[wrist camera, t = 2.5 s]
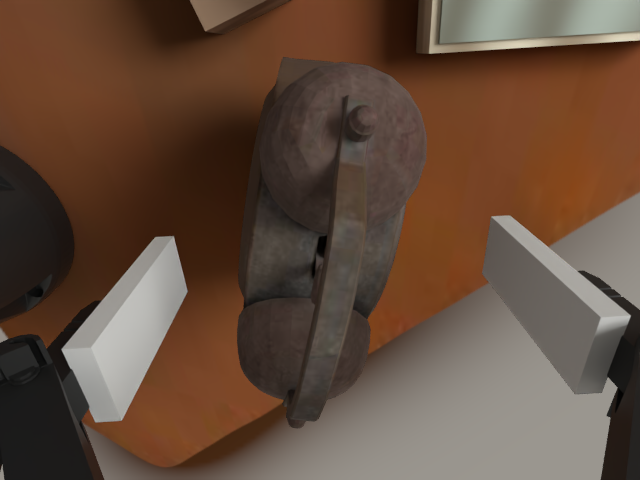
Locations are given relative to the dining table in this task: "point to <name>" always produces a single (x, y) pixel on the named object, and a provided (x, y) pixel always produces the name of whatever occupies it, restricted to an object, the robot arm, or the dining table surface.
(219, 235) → the dining table surface
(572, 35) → the picture frame
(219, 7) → the walnut block
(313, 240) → the alarm clock
